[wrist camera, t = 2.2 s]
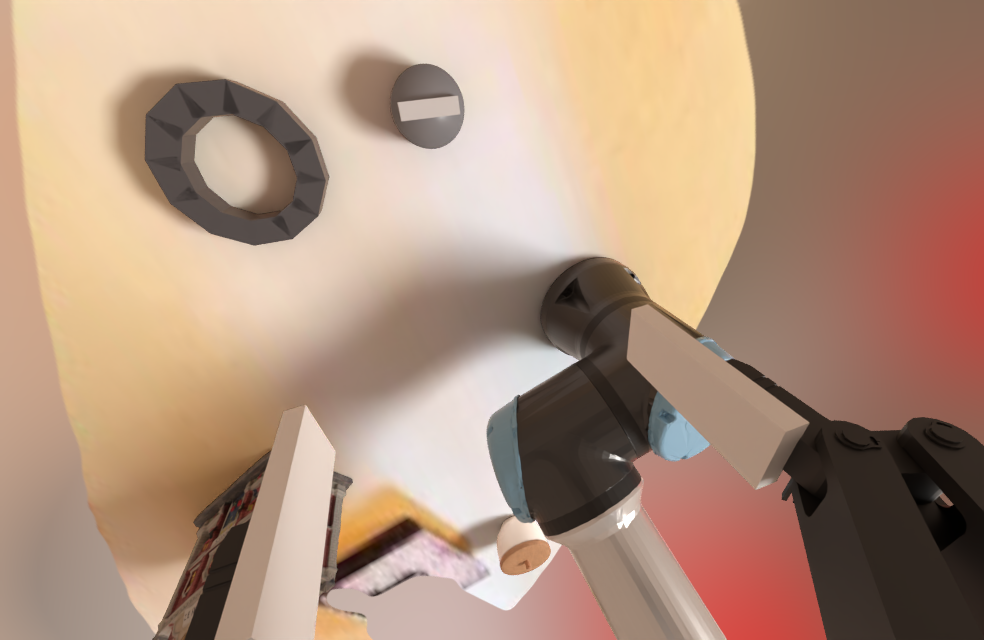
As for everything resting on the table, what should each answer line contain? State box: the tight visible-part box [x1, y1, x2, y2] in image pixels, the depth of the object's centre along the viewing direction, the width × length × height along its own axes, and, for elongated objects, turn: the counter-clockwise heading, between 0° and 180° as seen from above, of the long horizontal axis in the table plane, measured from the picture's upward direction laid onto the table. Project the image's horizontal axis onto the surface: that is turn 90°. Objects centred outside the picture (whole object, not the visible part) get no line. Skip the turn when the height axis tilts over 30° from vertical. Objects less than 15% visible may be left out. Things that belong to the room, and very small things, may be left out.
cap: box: [390, 64, 464, 149], centre depth 32 cm, size 6×6×5 cm
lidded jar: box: [497, 516, 551, 575], centre depth 73 cm, size 11×11×9 cm
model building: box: [152, 451, 353, 640], centre depth 46 cm, size 19×14×20 cm
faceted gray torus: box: [145, 79, 329, 245], centre depth 31 cm, size 13×13×2 cm
